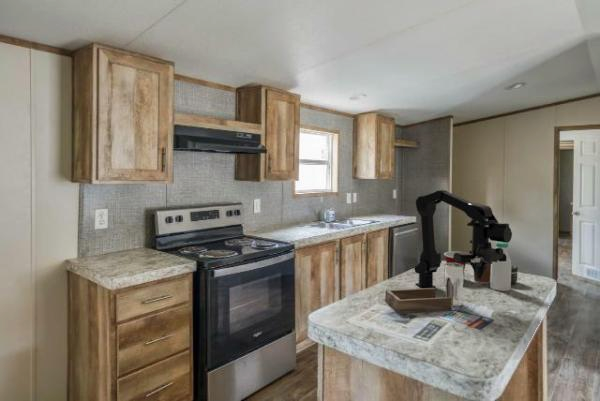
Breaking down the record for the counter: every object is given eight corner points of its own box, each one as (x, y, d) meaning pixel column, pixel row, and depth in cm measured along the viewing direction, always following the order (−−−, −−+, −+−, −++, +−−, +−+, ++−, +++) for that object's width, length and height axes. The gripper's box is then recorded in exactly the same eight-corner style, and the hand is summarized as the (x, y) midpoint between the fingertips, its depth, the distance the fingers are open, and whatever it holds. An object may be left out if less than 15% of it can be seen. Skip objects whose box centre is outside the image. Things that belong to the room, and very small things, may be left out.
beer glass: (454, 307, 137) (455, 267, 136) (439, 302, 143) (440, 263, 142) (467, 304, 140) (468, 265, 139) (452, 299, 147) (453, 261, 146)
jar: (517, 281, 172) (518, 264, 171) (516, 286, 164) (517, 269, 163) (493, 277, 177) (494, 262, 177) (491, 283, 169) (491, 266, 168)
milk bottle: (513, 292, 156) (515, 244, 154) (493, 291, 157) (494, 244, 156) (506, 286, 163) (508, 241, 162) (487, 285, 165) (489, 240, 163)
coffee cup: (475, 277, 177) (476, 252, 176) (496, 281, 171) (497, 255, 170) (467, 281, 171) (468, 255, 170) (488, 285, 164) (489, 259, 164)
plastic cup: (440, 279, 175) (440, 253, 174) (447, 274, 183) (447, 250, 183) (464, 283, 168) (465, 257, 167) (470, 278, 177) (471, 253, 176)
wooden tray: (384, 300, 145) (384, 289, 145) (432, 298, 148) (433, 287, 148) (399, 313, 131) (399, 301, 131) (452, 310, 134) (452, 298, 134)
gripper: (470, 243, 132) (469, 286, 134) (517, 241, 135) (516, 284, 136) (453, 237, 143) (451, 277, 145) (497, 236, 146) (495, 276, 147)
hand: (478, 279), depth 143 cm, fingers closed
